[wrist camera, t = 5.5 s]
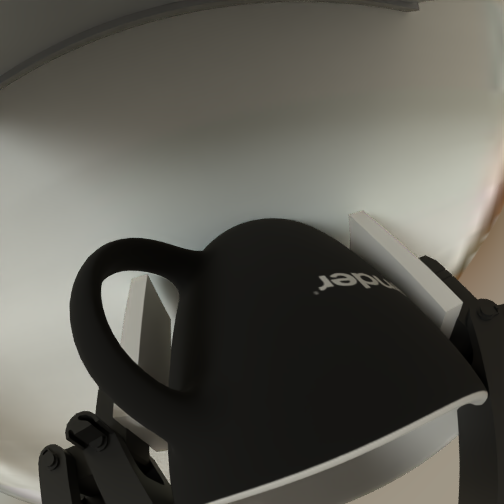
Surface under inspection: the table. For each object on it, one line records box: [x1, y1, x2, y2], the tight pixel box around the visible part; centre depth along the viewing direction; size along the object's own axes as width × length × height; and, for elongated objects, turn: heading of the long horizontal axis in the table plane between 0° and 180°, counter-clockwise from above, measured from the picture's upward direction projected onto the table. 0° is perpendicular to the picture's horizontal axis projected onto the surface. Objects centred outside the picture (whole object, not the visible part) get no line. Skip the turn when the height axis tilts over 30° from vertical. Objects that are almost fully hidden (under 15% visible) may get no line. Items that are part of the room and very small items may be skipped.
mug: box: [70, 218, 488, 504], centre depth 9 cm, size 12×9×10 cm
